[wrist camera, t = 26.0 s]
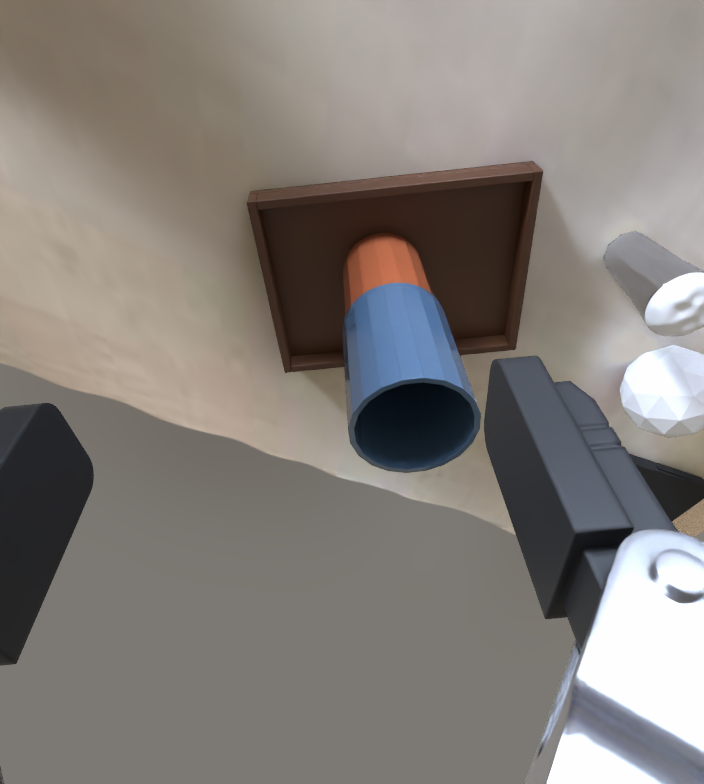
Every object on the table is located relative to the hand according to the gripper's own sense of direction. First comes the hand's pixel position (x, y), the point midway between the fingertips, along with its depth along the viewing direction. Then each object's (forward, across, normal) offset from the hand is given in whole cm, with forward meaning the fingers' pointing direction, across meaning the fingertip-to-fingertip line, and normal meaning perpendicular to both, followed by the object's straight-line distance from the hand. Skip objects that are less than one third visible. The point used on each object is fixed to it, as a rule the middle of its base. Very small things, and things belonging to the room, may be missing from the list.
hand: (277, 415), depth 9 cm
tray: (+28, -5, +12) cm, 31 cm away
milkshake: (+28, -23, +12) cm, 38 cm away
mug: (+27, -4, +13) cm, 31 cm away
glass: (+20, -4, +11) cm, 23 cm away
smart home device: (+28, -29, +41) cm, 57 cm away
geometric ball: (+28, -28, +24) cm, 46 cm away
